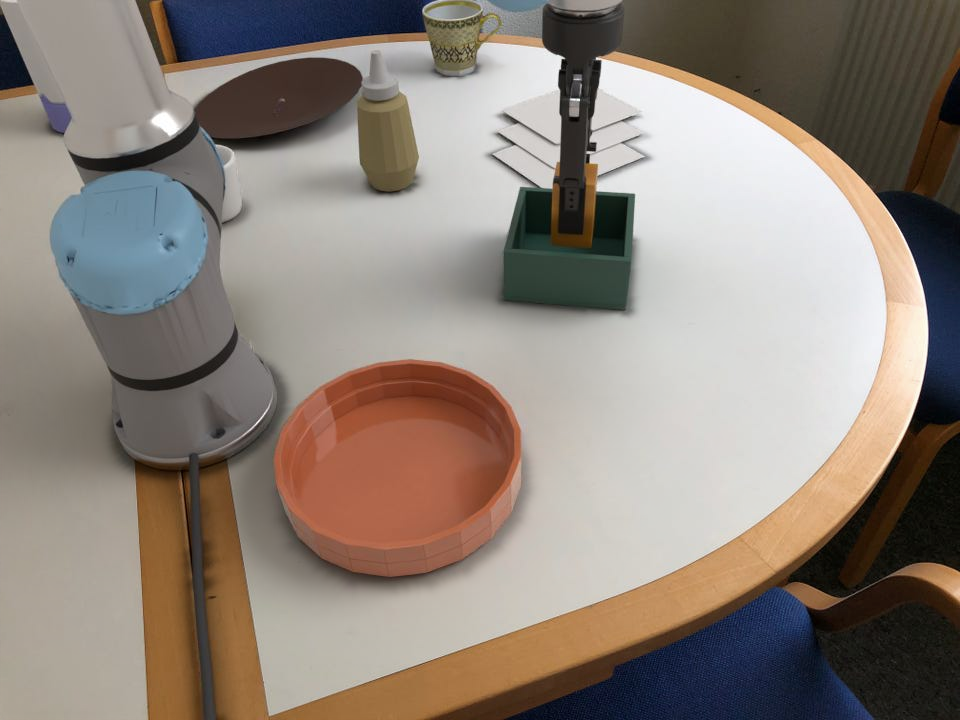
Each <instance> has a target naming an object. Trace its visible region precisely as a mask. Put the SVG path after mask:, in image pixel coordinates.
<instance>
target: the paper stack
mask: <svg viewBox="0 0 960 720" xmlns="http://www.w3.org/2000/svg"><path fill="white" fill-rule="evenodd" d="M559 105H560V89H557V90H554V91H551V92H548V93H545V94H543V95H540V96H537V97H534V98H531V99H528V100H525V101H522V102H519V103H517V104H513V105H509V106H508V107H505V108H502V109H501V112H503V113H505V114H506V115H508V116H510V117H511V118H513V119H514V120H516V121H517V123H515V124H511V125H510V126H506V127H504V128H500V129H497V130H496V132H497V133H499V134H500V135H502V136H503V137H505V138H506V139H508V140H509V141H511V142H512V143H514V144H515V145H512V146H509V147H505V148H504V149H500V150H498V151H496V152H493V153H491V155H493V156H494V157H495V158H496V159H499V161H501V162H503V163H504V164H506V165H507V166H508V167H510V168H512V169H513V170H515V171H516V172H518V173H519V174H520V175H523V177H525V178H526V179H528V180H529V181H531V182H532V183H534V184H535V185H537V186H538V187H539V188H550V189H552V186H553V178H554V174H555V169H556V164H557V162H560V143H561V116H560V114H559ZM643 112H644V111H643V110H641V109H639V108H637V107H636V106H634V105H631V104H630V103H628V102H625V101H623V100H622V99H619V98H618V97H617V96H614V95H612V94H610V93H608V92H606V91H605V90H602V89H600V88H599V87H598V89H597V98H596V100H595V111H594V115H593V117H592V125H591V129H592V135H591V137H590V142H597V146H596V152H590V151H587V154H590V164H598V175H597V177H598V176H601V175H604V174H606V173H608V172H611V171H613V170H616V169H618V168H621V167H624V166H626V165H628V164H631V163H633V162H636V161H637V160H640V159H642V158H643V159H644V158H645V155H643V154H641V153H640V152H638V151H636V150H635V149H633V148H631V147H629V146H628V145H626V144H624V143H623V142H626V141H628V140H631V139H633V138H635V137H638V136H640V135H643V134H644V132H643V131H641V130H639V129H637V128H635V127H633V126H632V125H630V124H628V123H626V122H624V121H623V120H625V119H627V118H631V117H633V116H635V115H639V114H641V113H643Z"/></svg>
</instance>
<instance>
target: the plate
mask: <svg viewBox="0 0 960 720" xmlns="http://www.w3.org/2000/svg"><path fill="white" fill-rule="evenodd" d="M363 79H364V77H363V75H362V72H361V71H360V69H358V68H357V67H356V66H355V65H354V64H352V63H349V62H348V61H346V60H345V61H344V60H342V59H341V60H340V59H337V58H331V57H315V56H314V57H311V56H310V57H299V58H293V59H292V58H291V59H287V60H281V61H277V62H273V63H270V64H269V63H268V64H266V65H261V66H260V67H257V68H254V69H252V70H249V71H246V72H245V73H242V74H240V75H237V76H236V77H234V78H232V79H230V80H228V81H227V82H225V83H223V84H221V85H220V86H218V87H217V88H215V89H214V90H212V91H211V92H209V93H208V94H207V95H206V96H205V97H203V99H202V100H200V101H199V102H198V103H197V105H196V106H195V107H194V110H195V113H196V116H197V119H198V121H199V124H200V127H201V128H203V129H204V131H205V132H206V133H207V134H208V135H209V136H210V138H215V139H243V138H245V139H246V138H255V137H261V136H266V135H273V134H276V133H280V132H285V131H289V130H293V129H296V128H299V127H301V126H305V125H308V124H311V123H313V122H316V121H318V120H320V119H322V118H325V117H327V116H329V115H331V114H333V113H334V112H337V111H338V110H340V109H341V108H342V107H344V106H346V105H347V104H348V103H349V102H351V101H352V100H353V99H354V98H355V96H357V95H358V94H359V92H360V90H361V89H362V84H361V82H362V80H363Z"/></svg>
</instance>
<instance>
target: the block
mask: <svg viewBox="0 0 960 720" xmlns="http://www.w3.org/2000/svg"><path fill="white" fill-rule="evenodd" d="M559 172H560V162H557V164H556V169H555V174H554V176H559ZM597 175H598V164H590V163H586V168H585V177H586V178H587V179H586V195H585V211H584V227H583V235H577V234H562V233H558V219H559V191H560V187H559V184H557V183H553V186H552V220H551V245H553V246H567V247H582V248H591V244H592V236H593V228H594V216H595V202H596V191H597V186H598V176H597Z"/></svg>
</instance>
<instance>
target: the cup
mask: <svg viewBox="0 0 960 720" xmlns="http://www.w3.org/2000/svg"><path fill="white" fill-rule="evenodd" d="M215 145H216V147H217V150H218V152H219V154H220V157H221V160H222V163H223V166H224V171H225V179H226V182H225V187H226V189H225V197H224V201H223V208H222V223H225V222H228V221H230V220H232V219H235V217H237V215H239V214H240V212H241V210H242V207H243V197H242V196H243V195H242V189H241V184H240V176H239V170H238V164H237V157H236V154H235V152H234V151H233V149H231V148H229V147H228V146H226V145H225V146H224V145H222V144H215Z"/></svg>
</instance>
